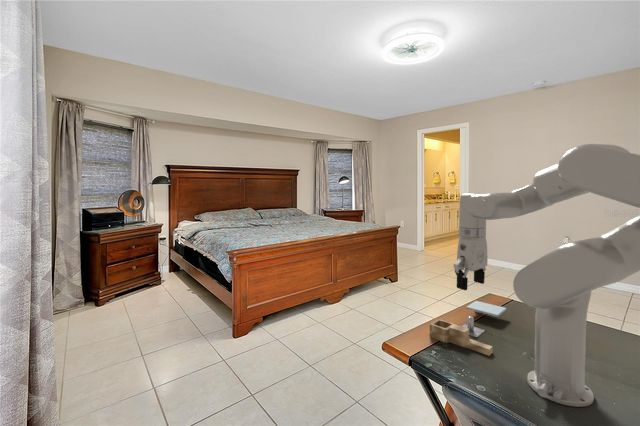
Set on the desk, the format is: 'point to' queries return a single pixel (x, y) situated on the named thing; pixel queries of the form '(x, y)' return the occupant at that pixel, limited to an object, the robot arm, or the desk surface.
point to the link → (456, 336)
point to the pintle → (472, 327)
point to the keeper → (486, 308)
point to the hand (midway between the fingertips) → (470, 285)
